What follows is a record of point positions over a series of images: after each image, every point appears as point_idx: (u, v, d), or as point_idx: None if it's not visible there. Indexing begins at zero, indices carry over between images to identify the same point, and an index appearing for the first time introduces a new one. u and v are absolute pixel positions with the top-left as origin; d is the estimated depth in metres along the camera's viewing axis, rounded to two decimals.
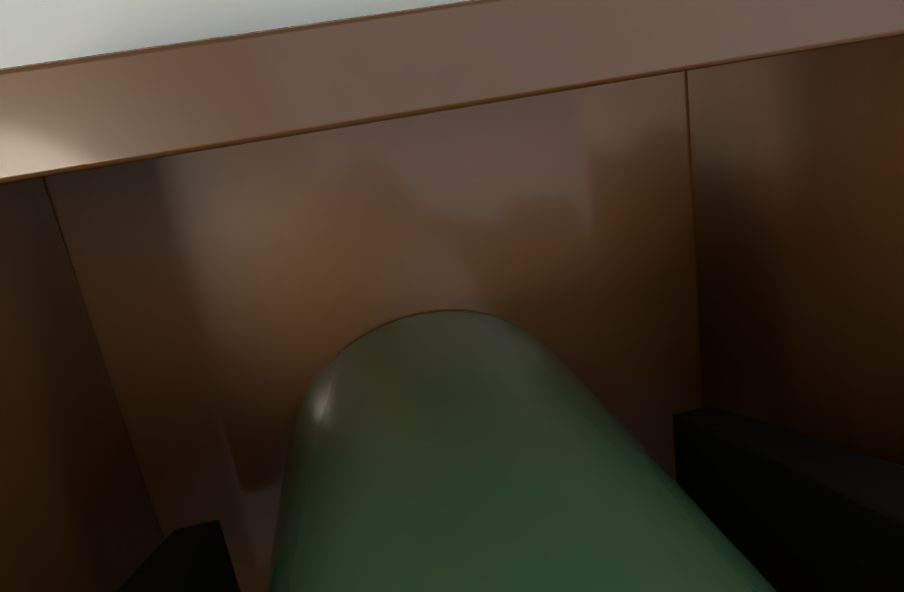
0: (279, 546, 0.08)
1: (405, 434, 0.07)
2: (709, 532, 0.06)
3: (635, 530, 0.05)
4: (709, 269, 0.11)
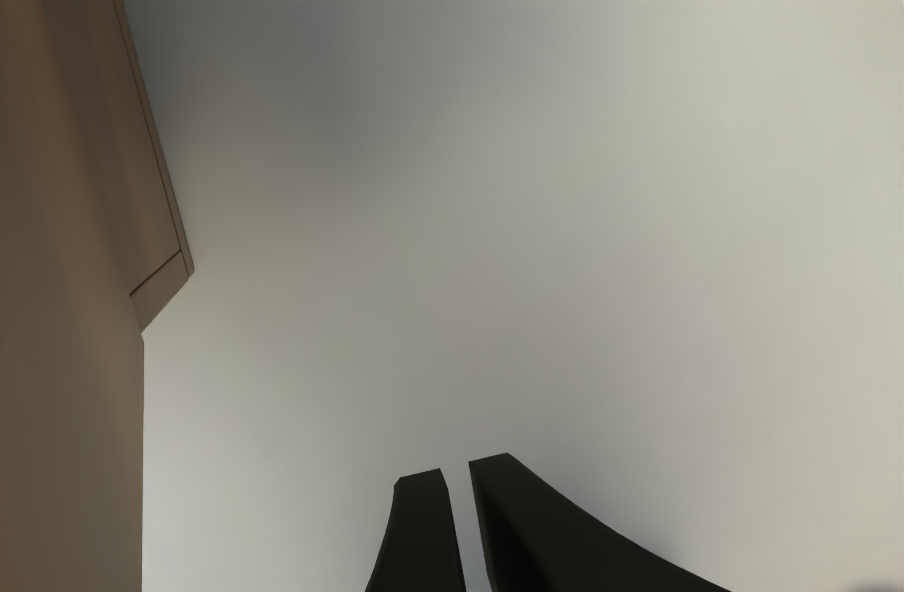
0: None
1: None
2: None
3: None
4: None
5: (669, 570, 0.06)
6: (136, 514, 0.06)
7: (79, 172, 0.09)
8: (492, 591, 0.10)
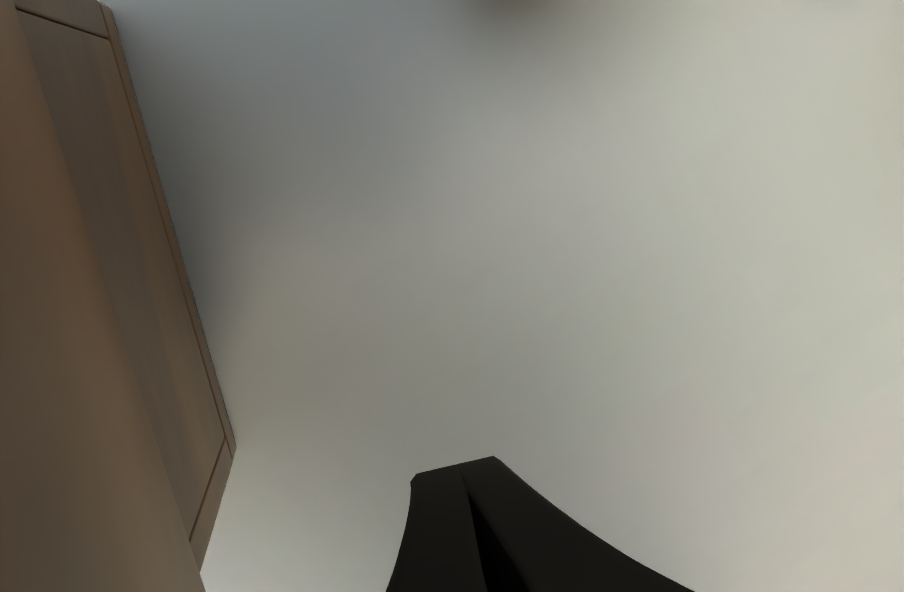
0: None
1: None
2: None
3: None
4: None
5: (647, 576, 0.06)
6: None
7: (154, 511, 0.10)
8: None
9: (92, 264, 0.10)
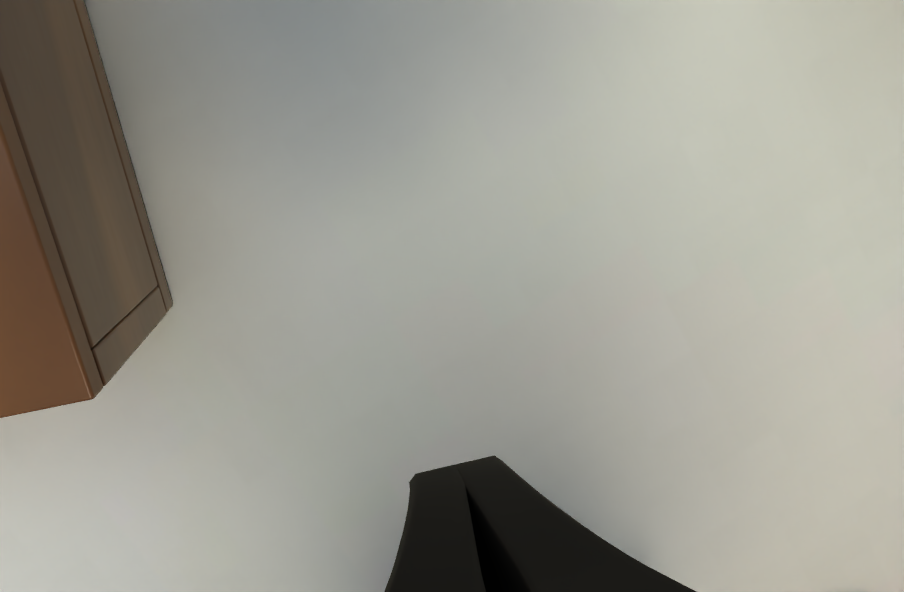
0: None
1: None
2: None
3: None
4: None
5: (648, 576, 0.06)
6: None
7: None
8: None
9: None
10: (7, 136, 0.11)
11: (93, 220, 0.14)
